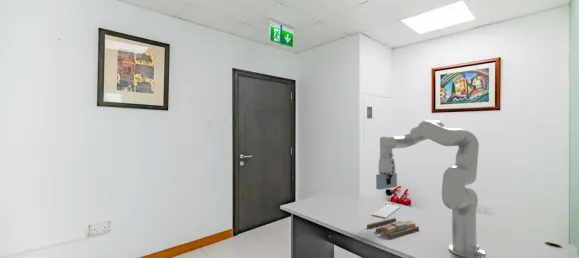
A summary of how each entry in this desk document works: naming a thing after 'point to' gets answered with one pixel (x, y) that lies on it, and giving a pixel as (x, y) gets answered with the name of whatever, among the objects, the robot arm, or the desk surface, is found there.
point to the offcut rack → (394, 232)
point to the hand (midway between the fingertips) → (386, 183)
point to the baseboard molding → (385, 211)
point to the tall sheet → (385, 181)
